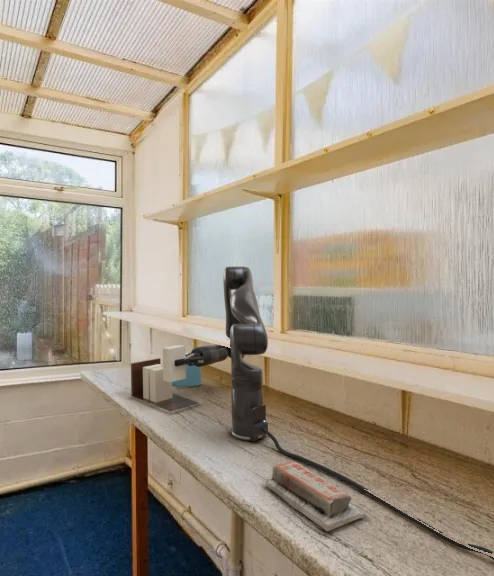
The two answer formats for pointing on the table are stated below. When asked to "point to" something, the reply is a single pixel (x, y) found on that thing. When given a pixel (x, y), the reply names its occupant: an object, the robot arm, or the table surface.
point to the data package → (190, 377)
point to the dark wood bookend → (137, 388)
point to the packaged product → (313, 496)
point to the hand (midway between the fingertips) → (171, 362)
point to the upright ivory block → (173, 363)
